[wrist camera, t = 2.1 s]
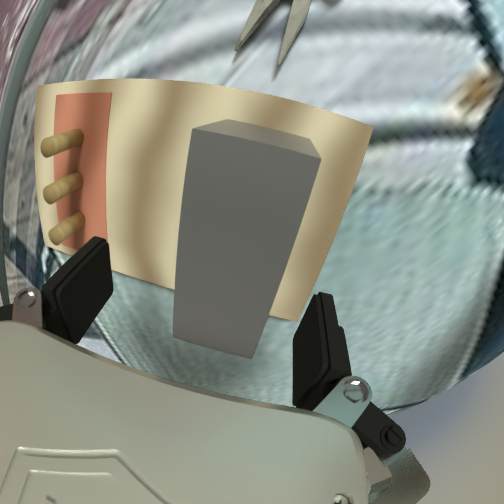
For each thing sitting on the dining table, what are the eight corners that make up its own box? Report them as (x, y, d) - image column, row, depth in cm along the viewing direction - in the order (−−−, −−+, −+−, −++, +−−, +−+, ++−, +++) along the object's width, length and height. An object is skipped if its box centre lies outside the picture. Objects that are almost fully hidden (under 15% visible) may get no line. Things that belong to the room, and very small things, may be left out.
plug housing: (227, 118, 15) (192, 128, 9) (309, 138, 15) (321, 158, 9) (200, 277, 21) (172, 337, 16) (262, 294, 21) (252, 358, 16)
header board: (367, 125, 15) (394, 134, 11) (297, 309, 23) (296, 355, 19) (49, 84, 15) (6, 91, 11) (53, 238, 23) (23, 263, 19)
